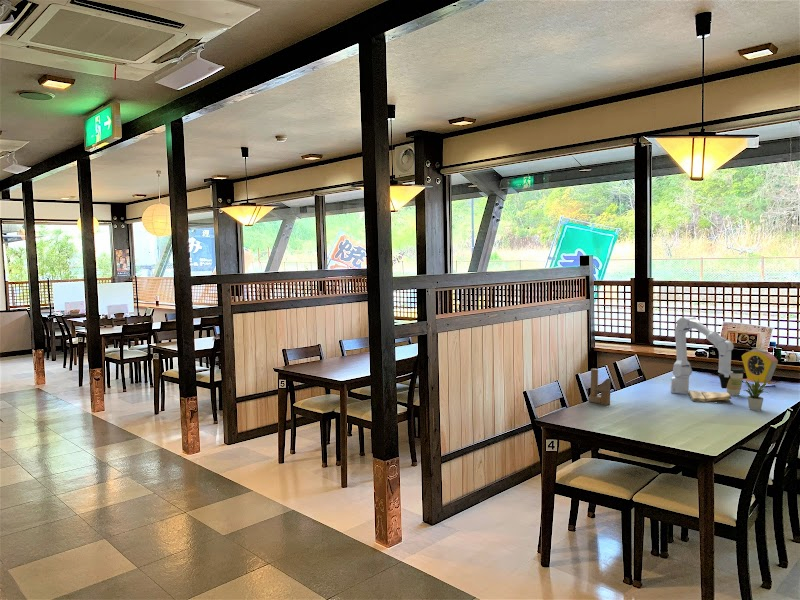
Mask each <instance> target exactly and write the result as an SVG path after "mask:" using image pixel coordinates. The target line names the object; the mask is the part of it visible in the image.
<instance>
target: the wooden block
mask: <svg viewBox="0 0 800 600" xmlns="http://www.w3.org/2000/svg"><path fill="white" fill-rule="evenodd" d="M598 380H599V369H598V368H591V369H590V394H589V395H588V402H590V403H593V404H598V403H599V405H603V404H604V406H609V405H611V383H612V382H611V381H612V380H611V377H610V378H606V379H605V380H604V381H603V382H602V383H600V384H599V381H598ZM598 391H600V395H599V394H598Z"/></svg>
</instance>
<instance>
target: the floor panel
mask: <svg viewBox="0 0 800 600" xmlns="http://www.w3.org/2000/svg"><path fill="white" fill-rule="evenodd" d="M719 393H720V392H717V391H716V392H715V391H714V392H713V391H702V390H689V394H688V395H689V397H690V396H691V397H690V398H692V399H691V401H692V402H694V401H702V402H701V403H708V402H717V403H716V404H723V403H731V404H730V405H733V402H732V401H731V399H723V400H713V401H706V400H705V397H704V395H709V394H719Z"/></svg>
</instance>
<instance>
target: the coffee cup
mask: <svg viewBox="0 0 800 600" xmlns="http://www.w3.org/2000/svg"><path fill="white" fill-rule="evenodd" d="M731 371H732V372H733V373H730V374H729V375H730V376H731V378H730V379H729V381H728V384H727V388H726V393H729V394H730V396H731V395H739V394H740V393H741V390H742V383H743V382H742V379H744V378H743V377H744V374H745V371H744V369H743V368H741V367H733V366H731Z"/></svg>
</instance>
